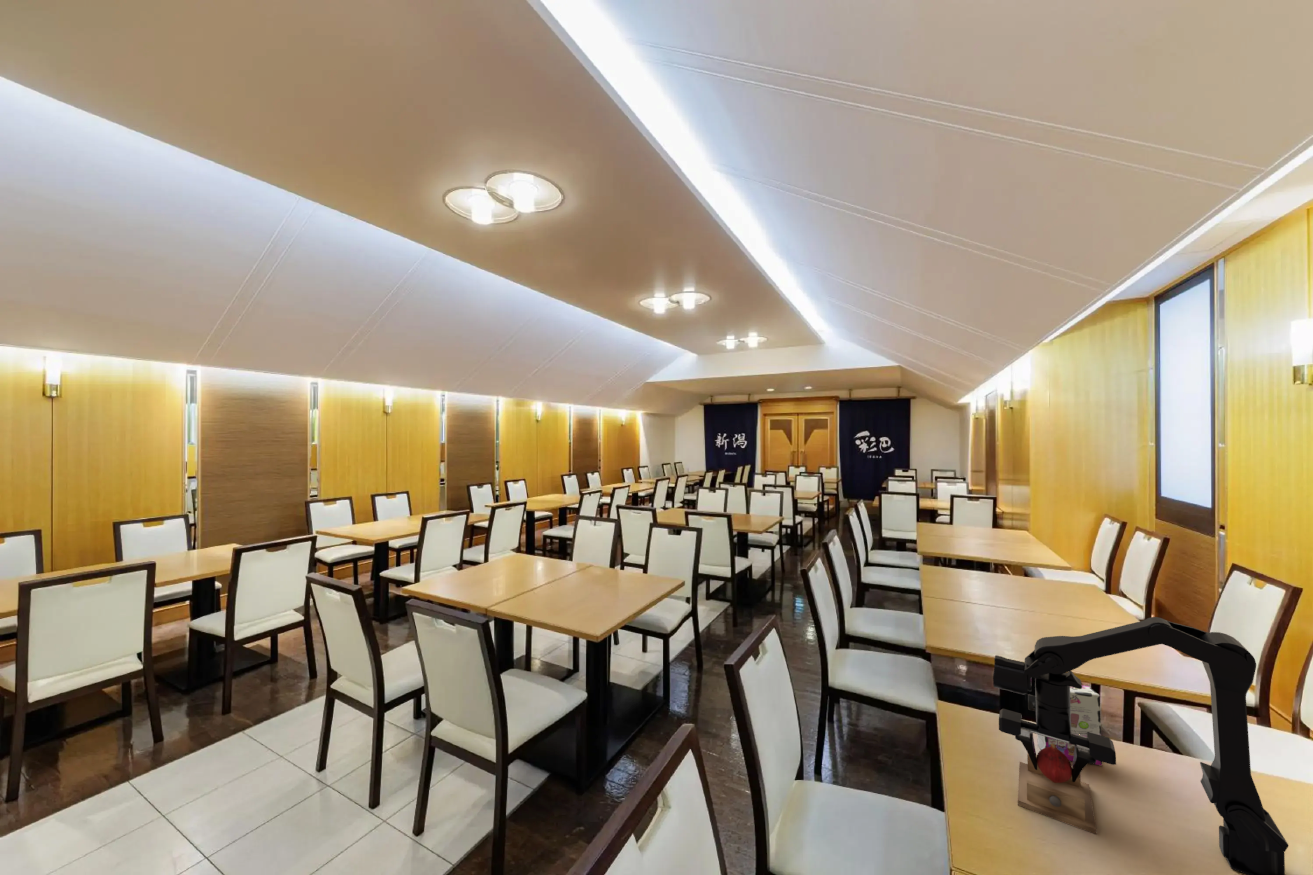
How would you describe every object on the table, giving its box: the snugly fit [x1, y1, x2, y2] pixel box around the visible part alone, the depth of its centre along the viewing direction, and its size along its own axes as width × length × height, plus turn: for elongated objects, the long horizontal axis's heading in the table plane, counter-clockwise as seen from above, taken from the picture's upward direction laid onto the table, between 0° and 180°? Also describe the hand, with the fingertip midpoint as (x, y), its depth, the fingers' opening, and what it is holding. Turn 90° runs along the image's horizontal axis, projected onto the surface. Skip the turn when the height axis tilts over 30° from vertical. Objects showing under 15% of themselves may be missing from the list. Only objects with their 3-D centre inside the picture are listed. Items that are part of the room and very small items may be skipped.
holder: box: [1017, 751, 1097, 835], centre depth 101 cm, size 12×15×4 cm
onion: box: [1036, 743, 1072, 783], centre depth 101 cm, size 6×6×8 cm
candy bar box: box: [1036, 685, 1103, 766], centre depth 114 cm, size 11×5×16 cm, turn 73°
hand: (1054, 774), depth 101 cm, fingers closed on onion, 6 cm apart
